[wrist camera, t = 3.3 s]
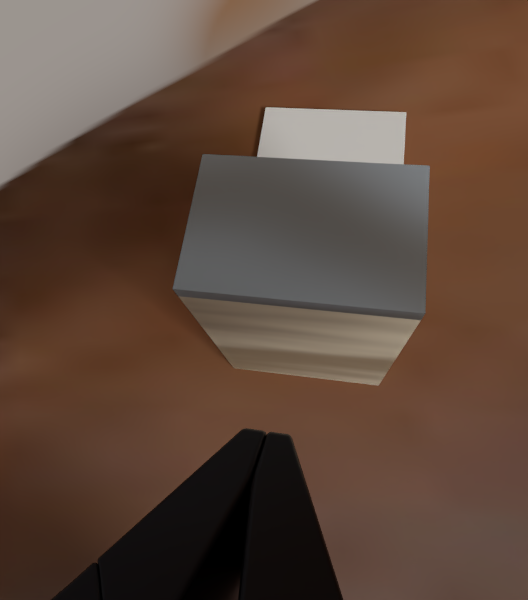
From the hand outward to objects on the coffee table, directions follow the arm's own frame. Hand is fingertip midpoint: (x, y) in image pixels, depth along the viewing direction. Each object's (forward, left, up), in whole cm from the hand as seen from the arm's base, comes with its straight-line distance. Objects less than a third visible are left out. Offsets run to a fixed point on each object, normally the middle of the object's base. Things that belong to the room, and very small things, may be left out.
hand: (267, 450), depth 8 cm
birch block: (+5, +2, -11) cm, 12 cm away
